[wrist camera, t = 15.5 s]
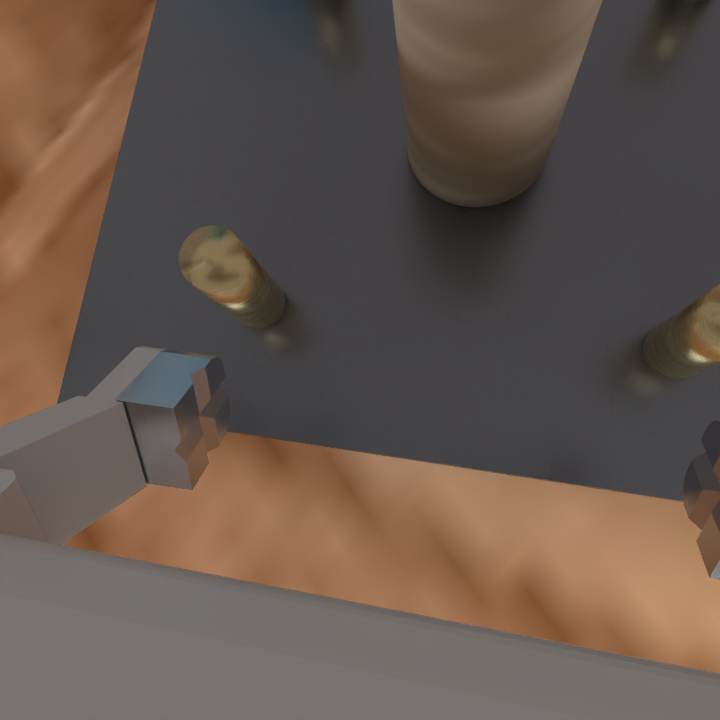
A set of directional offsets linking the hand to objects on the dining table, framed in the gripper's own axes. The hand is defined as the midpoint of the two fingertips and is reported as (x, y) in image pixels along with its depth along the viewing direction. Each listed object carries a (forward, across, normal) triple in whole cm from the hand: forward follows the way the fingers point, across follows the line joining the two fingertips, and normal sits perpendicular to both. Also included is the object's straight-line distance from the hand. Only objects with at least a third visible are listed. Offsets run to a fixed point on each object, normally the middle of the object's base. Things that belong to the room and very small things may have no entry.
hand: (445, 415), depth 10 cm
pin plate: (+12, 0, -1) cm, 12 cm away
